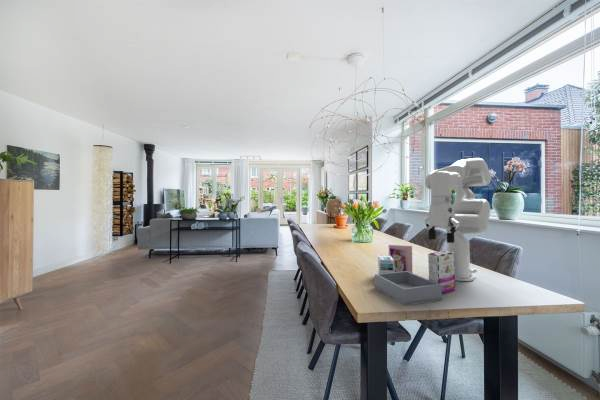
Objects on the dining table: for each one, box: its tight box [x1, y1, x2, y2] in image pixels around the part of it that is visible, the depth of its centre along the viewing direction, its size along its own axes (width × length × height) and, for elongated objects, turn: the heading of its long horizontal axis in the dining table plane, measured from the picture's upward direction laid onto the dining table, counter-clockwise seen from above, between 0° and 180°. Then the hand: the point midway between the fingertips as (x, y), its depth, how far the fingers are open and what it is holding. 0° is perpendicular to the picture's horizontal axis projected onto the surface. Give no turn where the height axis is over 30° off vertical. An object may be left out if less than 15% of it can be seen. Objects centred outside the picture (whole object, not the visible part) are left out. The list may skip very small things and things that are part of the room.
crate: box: [374, 271, 443, 306], centre depth 107 cm, size 17×20×6 cm
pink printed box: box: [388, 244, 413, 273], centre depth 133 cm, size 11×7×15 cm, turn 33°
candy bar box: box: [427, 250, 456, 295], centre depth 109 cm, size 11×5×16 cm, turn 117°
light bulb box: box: [377, 254, 395, 274], centre depth 126 cm, size 11×7×11 cm, turn 168°
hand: (441, 240), depth 109 cm, fingers open, 9 cm apart
